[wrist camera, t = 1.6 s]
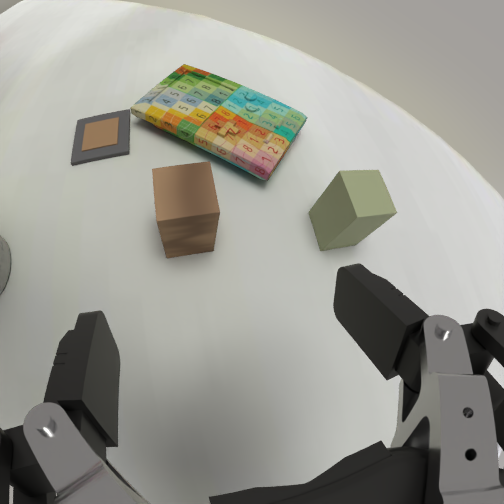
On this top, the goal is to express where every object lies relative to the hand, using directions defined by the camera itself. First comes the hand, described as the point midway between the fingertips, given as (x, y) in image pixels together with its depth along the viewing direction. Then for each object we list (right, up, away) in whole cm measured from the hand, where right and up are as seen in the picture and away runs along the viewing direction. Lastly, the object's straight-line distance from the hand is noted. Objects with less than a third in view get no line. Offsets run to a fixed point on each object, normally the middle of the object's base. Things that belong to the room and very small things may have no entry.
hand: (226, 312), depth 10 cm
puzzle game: (-4, +19, +29) cm, 34 cm away
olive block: (+11, +5, +26) cm, 28 cm away
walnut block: (-6, +4, +22) cm, 23 cm away
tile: (-19, +17, +25) cm, 36 cm away
